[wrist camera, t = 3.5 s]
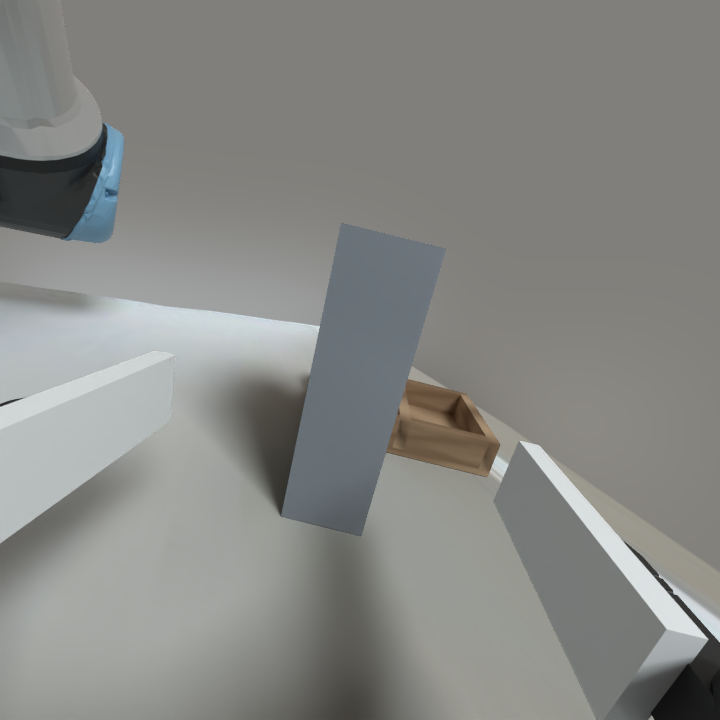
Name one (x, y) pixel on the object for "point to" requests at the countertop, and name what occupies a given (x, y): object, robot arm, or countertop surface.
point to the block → (358, 374)
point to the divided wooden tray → (442, 430)
